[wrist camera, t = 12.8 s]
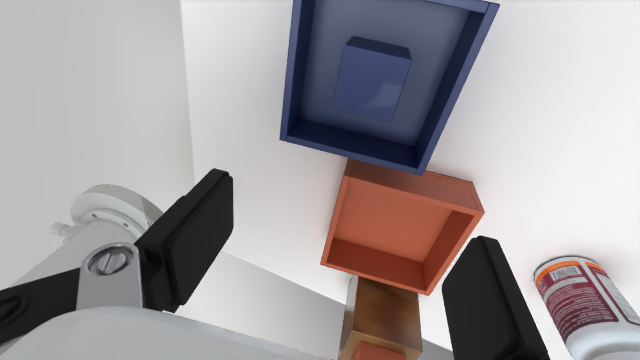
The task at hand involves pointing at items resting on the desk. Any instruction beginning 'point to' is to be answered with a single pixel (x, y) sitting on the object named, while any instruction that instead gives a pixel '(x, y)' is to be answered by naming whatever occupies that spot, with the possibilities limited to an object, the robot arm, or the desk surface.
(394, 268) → the terracotta bin
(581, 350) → the pill bottle
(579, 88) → the desk surface
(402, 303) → the block
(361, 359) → the terracotta block
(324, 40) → the navy bin
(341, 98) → the navy block
